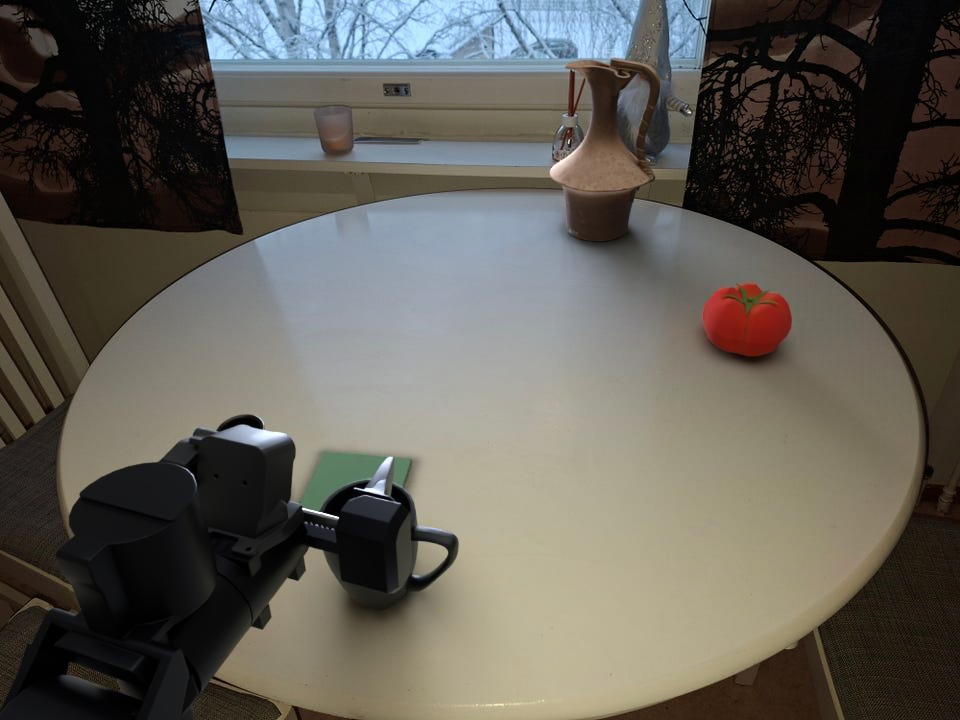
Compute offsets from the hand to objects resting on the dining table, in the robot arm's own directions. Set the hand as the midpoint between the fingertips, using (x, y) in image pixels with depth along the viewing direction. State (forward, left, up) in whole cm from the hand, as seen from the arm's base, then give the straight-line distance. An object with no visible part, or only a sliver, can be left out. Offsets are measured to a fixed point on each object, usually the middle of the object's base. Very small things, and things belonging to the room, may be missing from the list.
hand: (338, 449), depth 53 cm
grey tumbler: (+4, +15, -16) cm, 22 cm away
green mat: (+9, +7, -16) cm, 20 cm away
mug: (0, -3, -16) cm, 17 cm away
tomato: (+51, -27, -16) cm, 60 cm away
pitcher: (+78, 0, -16) cm, 79 cm away
